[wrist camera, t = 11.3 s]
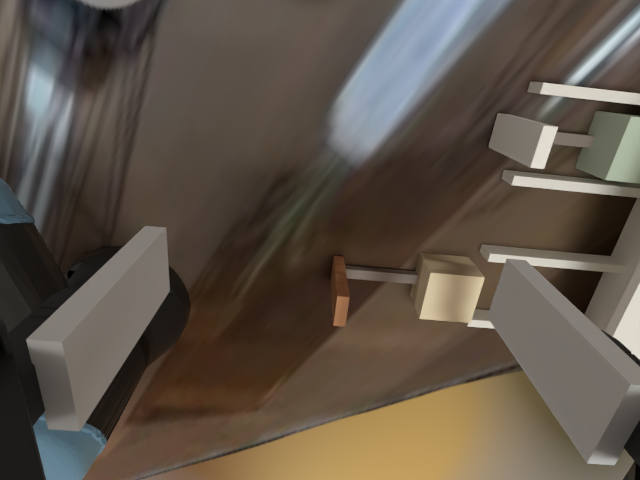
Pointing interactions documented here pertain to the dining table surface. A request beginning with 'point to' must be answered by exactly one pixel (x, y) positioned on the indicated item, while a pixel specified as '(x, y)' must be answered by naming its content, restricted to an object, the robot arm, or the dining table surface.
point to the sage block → (575, 144)
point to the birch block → (418, 286)
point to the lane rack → (618, 269)
